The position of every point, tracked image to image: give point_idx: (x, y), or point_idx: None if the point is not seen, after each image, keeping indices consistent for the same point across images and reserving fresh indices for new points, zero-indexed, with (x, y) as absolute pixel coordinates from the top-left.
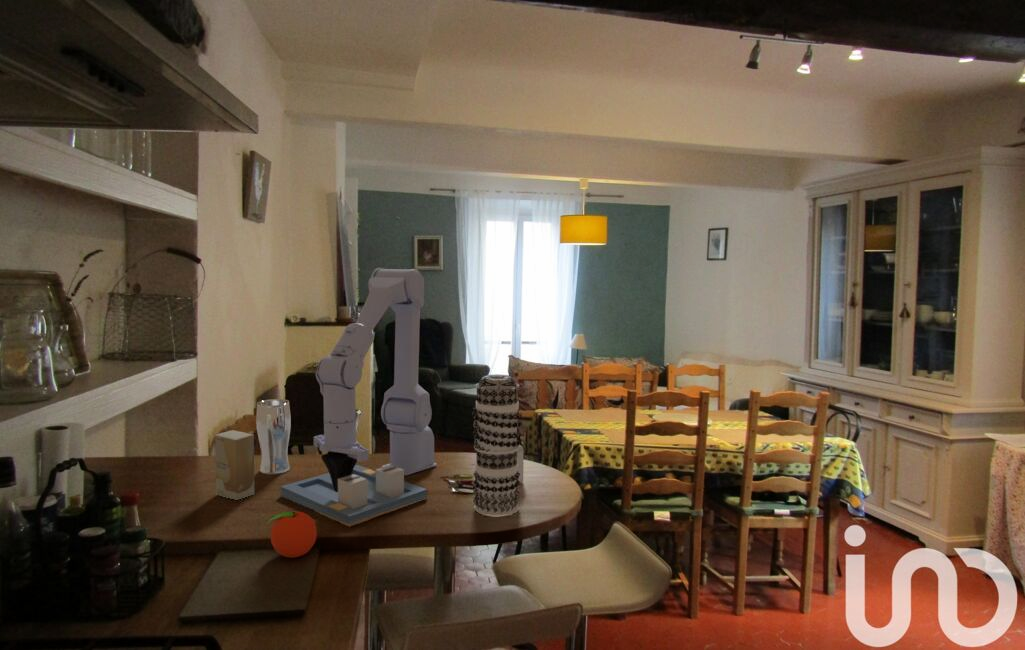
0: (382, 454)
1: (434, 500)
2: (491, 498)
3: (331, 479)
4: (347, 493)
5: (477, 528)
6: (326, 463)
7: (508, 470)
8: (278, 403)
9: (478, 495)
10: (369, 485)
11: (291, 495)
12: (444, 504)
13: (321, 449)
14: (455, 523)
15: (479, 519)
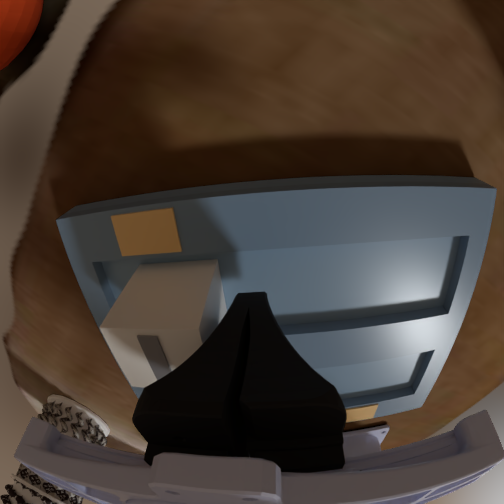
0: (432, 433)
1: None
2: (38, 417)
3: (270, 318)
4: (139, 296)
5: (19, 361)
6: (287, 374)
7: None
8: None
9: (52, 420)
10: None
11: (433, 181)
12: (121, 403)
13: (211, 470)
14: (38, 359)
15: (46, 384)
